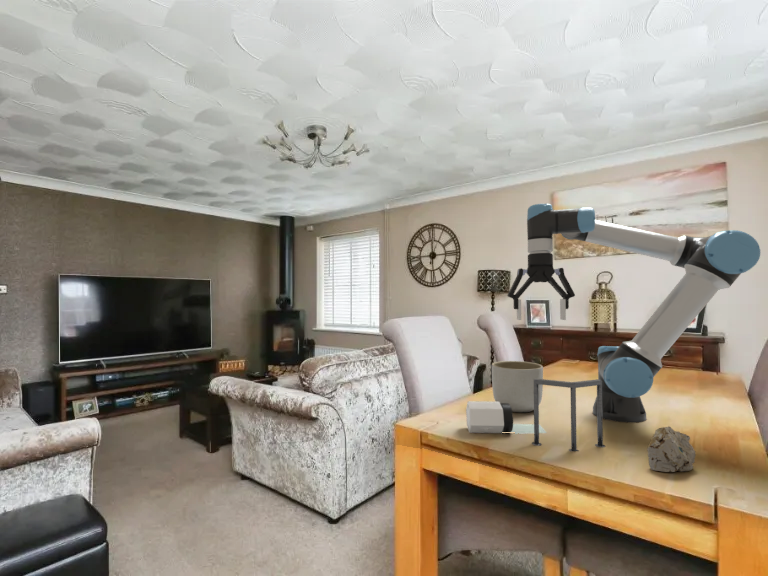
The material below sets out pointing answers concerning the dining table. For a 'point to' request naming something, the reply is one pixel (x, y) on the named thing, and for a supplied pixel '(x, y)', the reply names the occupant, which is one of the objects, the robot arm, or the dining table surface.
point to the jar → (489, 417)
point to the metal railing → (573, 408)
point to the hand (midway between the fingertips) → (540, 319)
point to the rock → (670, 451)
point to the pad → (526, 429)
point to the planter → (516, 384)
